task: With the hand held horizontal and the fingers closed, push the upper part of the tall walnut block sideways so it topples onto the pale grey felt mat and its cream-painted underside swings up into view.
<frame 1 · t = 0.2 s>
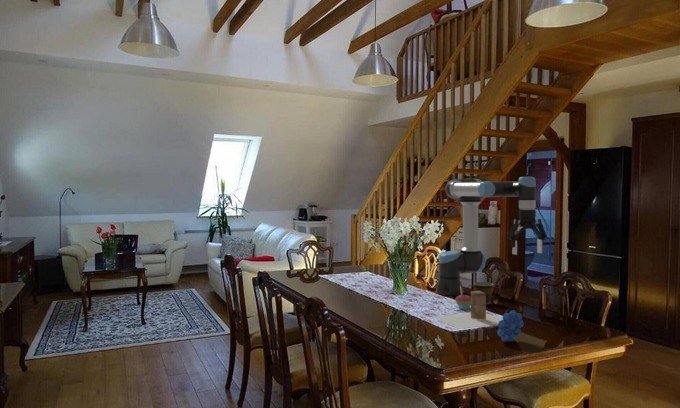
hand: (527, 253, 229), 28 cm above the table, tool pointing down, fingers open, 13 cm apart
grapes: (508, 341, 187), on the table
ceramic cup: (480, 303, 248), on the table
cupcake: (464, 309, 236), on the table
felt mat: (470, 320, 215), on the table
walnut block: (478, 318, 216), point 1 cm above the table, touching felt mat
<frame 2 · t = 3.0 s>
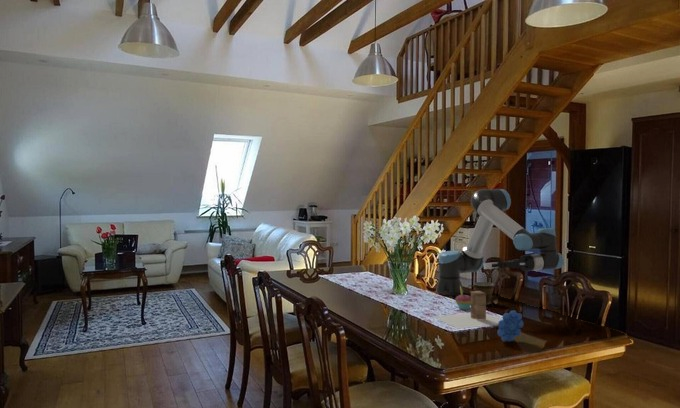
hand: (484, 266, 219), 24 cm above the table, tool horizontal, fingers closed
nothing on the table moved.
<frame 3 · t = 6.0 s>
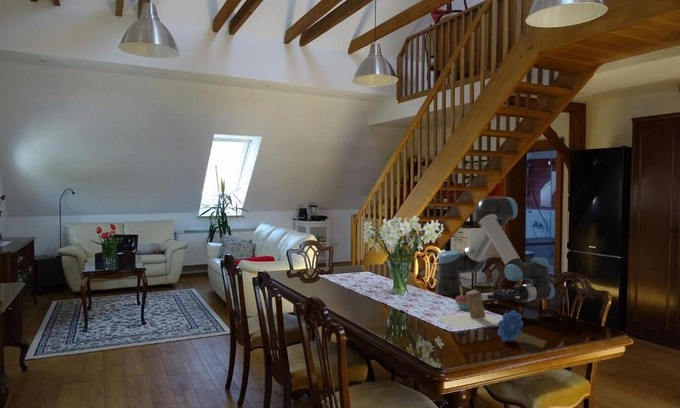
hand: (480, 297, 215), 10 cm above the table, tool horizontal, fingers closed
walnut block: (478, 317, 216), point 1 cm above the table, tilted 13°, touching felt mat
everything else where it was.
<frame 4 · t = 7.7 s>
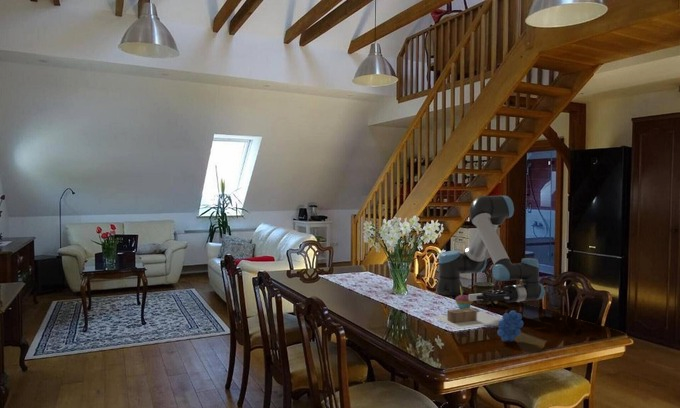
hand: (469, 297, 214), 11 cm above the table, tool horizontal, fingers closed
walnut block: (473, 314, 215), point 3 cm above the table, tilted 90°, touching felt mat
everything else where it was.
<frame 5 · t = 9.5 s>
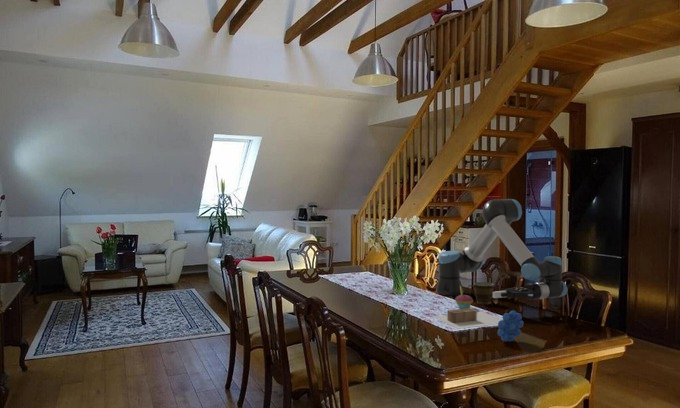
hand: (493, 294, 218), 11 cm above the table, tool horizontal, fingers closed
nothing on the table moved.
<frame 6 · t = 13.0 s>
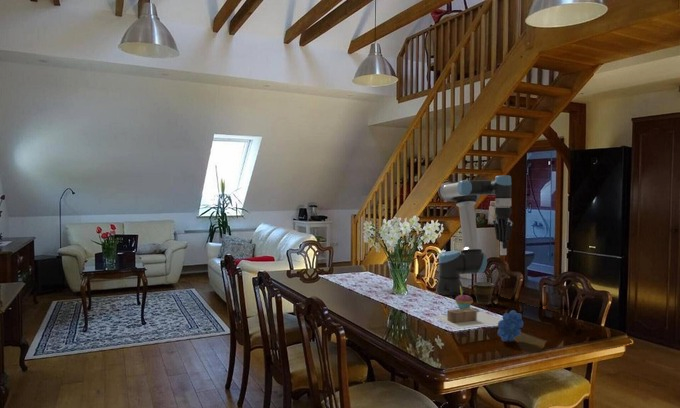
hand: (503, 254, 236), 26 cm above the table, tool pointing down, fingers closed
nothing on the table moved.
at the end: walnut block tilted 90°; walnut block inside the target area (4.7 cm from its centre), point 2.8 cm above the table; the gripper is holding nothing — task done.
